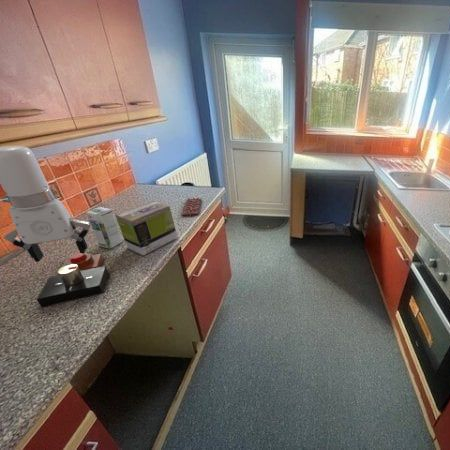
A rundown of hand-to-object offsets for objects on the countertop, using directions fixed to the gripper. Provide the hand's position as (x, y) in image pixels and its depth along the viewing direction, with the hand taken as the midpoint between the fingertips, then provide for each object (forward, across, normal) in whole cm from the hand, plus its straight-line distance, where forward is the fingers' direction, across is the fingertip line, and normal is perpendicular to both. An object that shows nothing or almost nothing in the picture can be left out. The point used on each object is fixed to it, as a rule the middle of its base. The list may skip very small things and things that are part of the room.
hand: (62, 254), depth 70 cm
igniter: (+12, -2, +11) cm, 17 cm away
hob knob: (+9, 0, 0) cm, 9 cm away
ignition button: (+9, -1, +11) cm, 14 cm away
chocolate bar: (+13, +36, +49) cm, 62 cm away
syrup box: (+13, +4, +25) cm, 28 cm away
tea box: (+13, +19, +20) cm, 30 cm away
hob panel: (+12, 0, 0) cm, 12 cm away
